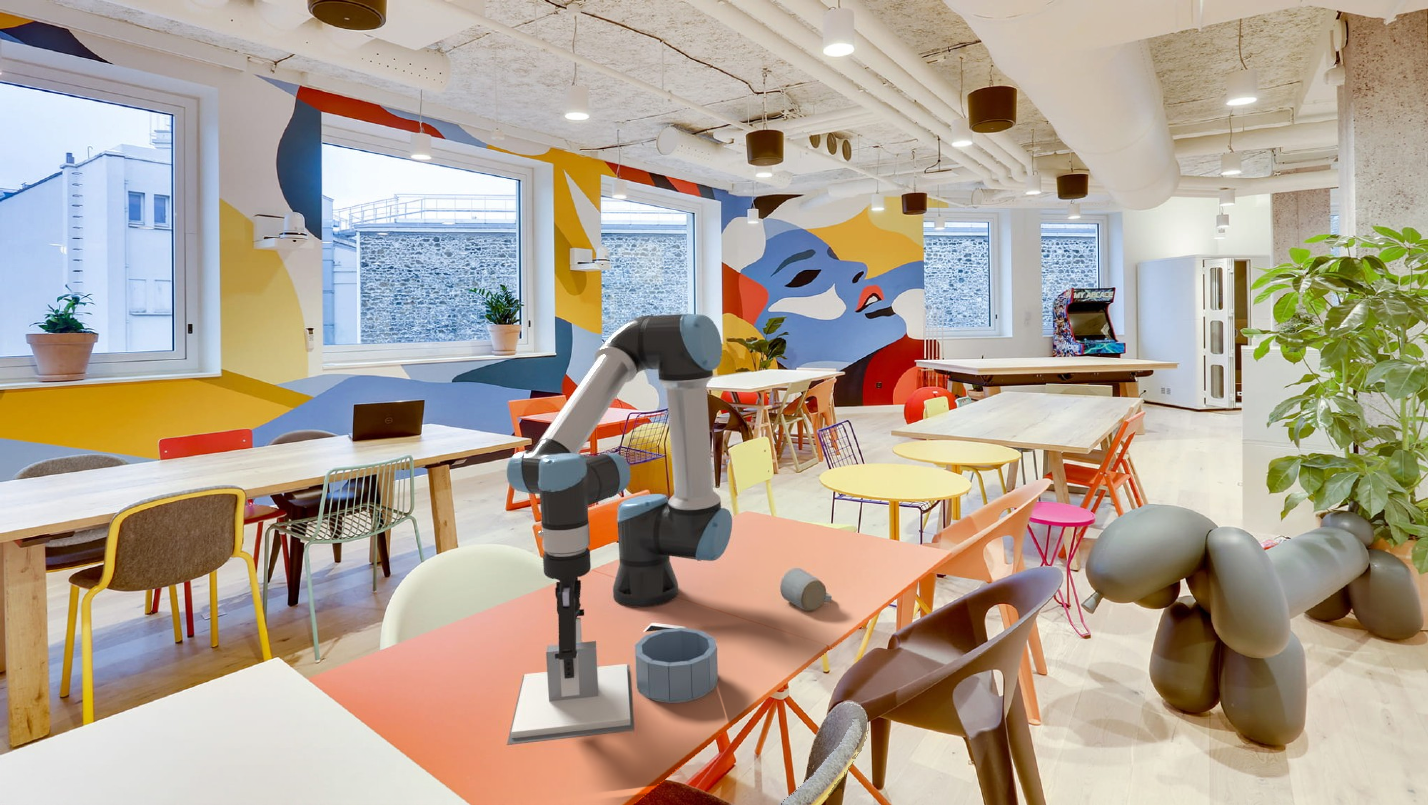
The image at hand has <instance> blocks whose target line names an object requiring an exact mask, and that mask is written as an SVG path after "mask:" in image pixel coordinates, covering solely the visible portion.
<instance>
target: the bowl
mask: <svg viewBox="0 0 1428 805" xmlns="http://www.w3.org/2000/svg"><path fill="white" fill-rule="evenodd" d="M634 654H635V657H634V658H635V660H634V661H635V662H634V663H635V680H636V689H637V690H638V692H639V693H640V694H641V695H642V696H644V697H645V698H647V699H649V700H651V701H654V702H655V701H656V702H659V703H660V702H661V703H667V704H669V703H670V704H673V703H674V704H675V703H676V704H677V703H687V702H690V701H694V700H698V699H699V698H703V697H705V696H706V695H708V694H709V693H711V691H713V690H714V688H715V687H717V685H718V680H719V676H718V675H719V671H718V668H719V667H718V645H717V643H716V640H715V637H713V636H712V635H710V634H708V633H706V632H704V631H703V630H699V629H693V628H675V629H664V630H658V631H653V632H651V633H649V634H645V635H643V636H642V638H640V640H638V641H637V642H636V643H635V644H634Z"/></svg>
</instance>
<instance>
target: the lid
mask: <svg viewBox="0 0 1428 805" xmlns="http://www.w3.org/2000/svg"><path fill="white" fill-rule="evenodd" d="M576 651H577V653H578V672H579V692H580V693H579V695H573V696H564V697H562V692H561V673H560V660H559V659H555V654H558V653H559V644H550V645H547V646H546V651H545V654H546V670H547V671H543V672H532V673H525V674H524V675H523V676H524V680H523V684H522V688H521V692H520V697H519V701H518V705H517V710H516V714H515V718H514V723H513V727H512V731H511V735H512V738H519V737H528V736H537V735H546V734H555V733H563V732H572V731H581V730H590V729H599V728H608V727H617V726H625V725H630V708H629V692H628V676H627V665H628V664H627V663H624V664H621V663H620V664H613V665H601V666H598V655H597V654H598V652H597V651H598V650H597V640H592V641H584V642H583V641H582V642H580V643H576Z"/></svg>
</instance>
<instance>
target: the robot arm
mask: <svg viewBox="0 0 1428 805" xmlns="http://www.w3.org/2000/svg"><path fill="white" fill-rule="evenodd" d="M722 355H723V344H722V339H721V335H720V331H719V329H718V327H717V325H716V324H715V322H714V321H713V319H711V318H710V317H709V316H707V315H704V314H698V313H697V314H696V313H695V314H694V313H681V314H680V313H679V314H677V313H675V314H664V315H663V314H661V315H658V314H657V315H652V314H651V315H650V314H649V315H641V316H639V317H636V318H633V319H631V320H629V321H627V322H626V323H625V324H623V325H622V326H620V327H619V328H618V329H616V330H615V331H614V332H613V333H611V334H610V335H609V336H608V338H607V339H606V340H605V341H604V342H603V343H602V345H601V346H599V348H598V349H597V351H596V353H595V355H594V363H593V365H592V366H591V367H590V369H589V370H588V372H587V373H586V374H585V376H584V377H583V379H582V380H581V382H580V383H579V384H578V386H577V387H575V388H576V389H575V390H574V391H573V393H572V394H571V396H570V397H568V398H569V399H568V400H567V401H566V402H565V404H564V405H563V407H562V408H561V409H560V411H559V412H558V413H557V415H556V416H555V417H554V419H553V420H552V422H551V423H550V425H549V426H548V427H547V428H546V430H545V432H544V433H543V434H542V436H541V437H540V439H539V440H538V442H537V443H536V444H535V445H534V447H533V448H532V450H531V451H530V450H524V451H518V452H516V453H514V454H513V455H512V456H511V457H510V459H509V461H508V463H507V466H506V479H507V482H508V484H509V485H510V487H511V488H512V489H513V490H515V491H517V492H521V493H525V494H531V495H537V494H538V495H539V502H540V503H539V504H540V513H541V514H540V516H541V518H540V519H541V521H540V523H541V530H539V531H538V533H537V536H538V537H539V538H542V549H543V551H544V553H542V564H543V565H542V566H543V574H544V575H545V576H546V577H547V578H549V579H552V580H557V581H556V587H555V588H554V589H555V590H554V592H555V598H556V613H557V616H558V617H557V618H558V645H559V653H558V654H555V659H559V660H560V673H561V692H562V697H564V696H573V695H579V693H580V692H579V672H578V653H577V651H576V643H580V642H583V641H582V640H583V639H582V637H583V636H582V619H581V617H585V608H583V609H582V608H581V607H582V603H581V601H580V600H581V590H582V581H581V579H578V578H581V577H584V576H586V575H587V574H588V573H589V572H590V570H591V568H592V567H591V566H592V565H591V564H592V563H591V550H590V549H589V546H590V544H591V540H590V535H591V534H590V521H589V506H592V505H594V504H596V503H598V502H601V501H604V500H607V499H608V498H613V497H615V496H617V495H618V494H620V493H622V492H623V491H624V490H626V489H627V487H628V485H629V484H630V481H631V474H632V473H631V467H630V465H629V463H628V462H627V460H626V458H624V457H623V456H622V455H620V454H618V453H615V452H608V453H601V454H599V455H582V454H580V452H581V451H582V449H583V448H584V446H585V444H586V443H587V441H588V440H589V439H590V437H591V436H592V434H593V432H594V431H595V429H596V428H597V426H598V425H599V424H600V422H601V420H602V419H603V417H604V416H605V414H606V413H607V411H608V410H609V408H610V407H611V405H612V404H613V402H614V401H615V399H616V397H618V395H619V393H620V392H621V390H622V388H623V387H624V386H625V384H627V383H629V382H632V381H633V380H634V378H636V376H637V374H638V373H640V372H642V371H647V370H657V373H658V380H659V382H660V383H662V384H663V385H664V386H665V387H666V396H667V398H666V399H667V400H666V401H667V409H668V424H669V440H670V452H671V453H670V454H671V464H672V465H671V467H672V478H673V492H674V493H673V495H671V497H669V498H668V496H667V495H666V494H663V493H651V494H650V493H649V494H643V495H638V496H635V497H631V498H627V499H625V500H624V501H621V503H619V505H618V506H617V519H616V523H617V535H618V536H617V537H618V538H617V540H618V554H619V555H618V556H619V557H618V558H619V564H618V565H619V566H618V569H617V572H616V577H615V580H614V583H613V586H612V594H613V599H614V601H615V602H616V603H618V604H621V605H623V606H626V607H636V608H646V607H647V608H649V607H655V606H661V605H664V604H667V603H669V602H671V601H673V600H674V599H676V598H677V597H678V595H679V583H678V579H677V577H676V574H675V572H674V568H673V567H672V563H671V561H670V560H671V558H670V557H674V558H682V559H689V560H696V561H697V562H698V561H699V562H701V561H707V562H708V561H709V562H713V561H716V560H718V559H720V558H721V557H722V556H723V554H724V553H725V551H726V549H727V547H728V545H729V542H730V539H731V536H732V531H733V530H732V529H733V518H732V514H731V511H730V510H729V509H726V508H725V507H722V501H721V500H722V499H721V496H720V495H719V494H718V493H717V492H716V491H714V483H713V469H712V468H713V467H712V453H711V452H712V450H711V436H710V435H711V434H710V417H709V405H708V404H709V403H708V389H707V388H708V387H707V385H708V383H709V382H710V381H711V379H713V378H714V370H716V369H718V368H719V366H720V364H721V362H722Z"/></svg>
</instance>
